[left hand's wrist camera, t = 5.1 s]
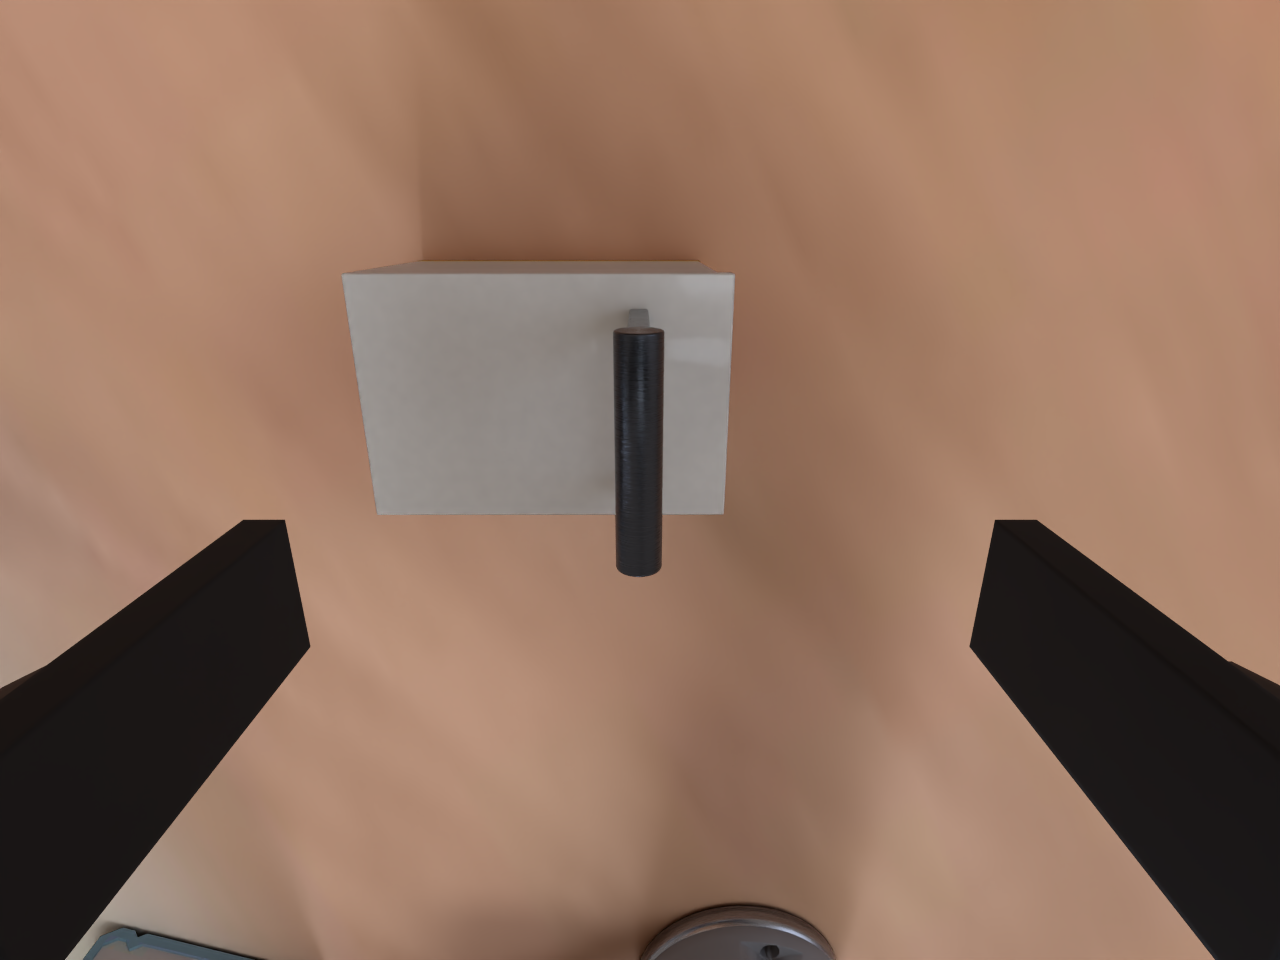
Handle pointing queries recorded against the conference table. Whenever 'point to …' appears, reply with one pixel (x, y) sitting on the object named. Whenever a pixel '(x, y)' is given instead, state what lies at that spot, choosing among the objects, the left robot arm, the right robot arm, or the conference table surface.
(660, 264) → the chest
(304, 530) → the conference table surface
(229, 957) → the book
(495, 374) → the lid
